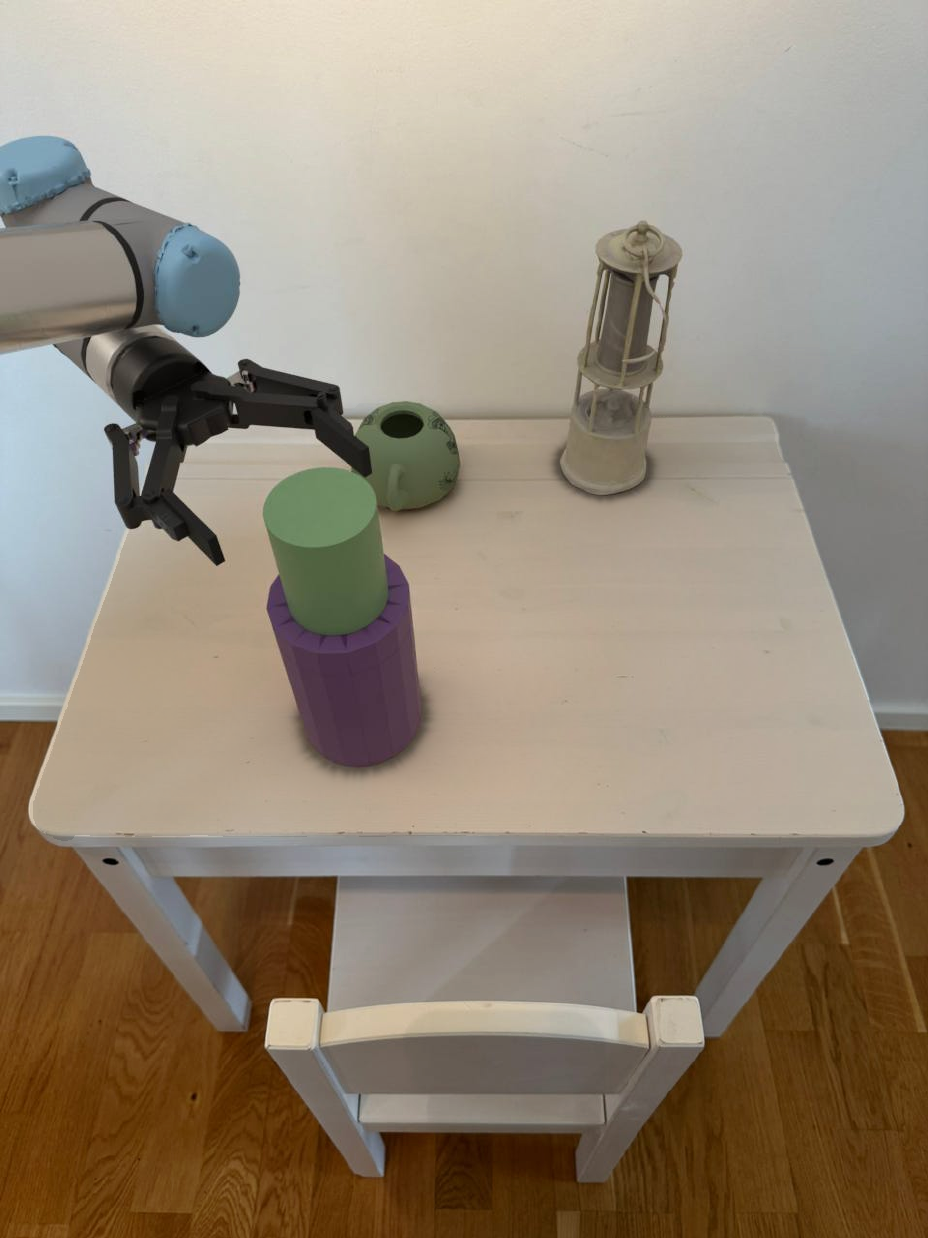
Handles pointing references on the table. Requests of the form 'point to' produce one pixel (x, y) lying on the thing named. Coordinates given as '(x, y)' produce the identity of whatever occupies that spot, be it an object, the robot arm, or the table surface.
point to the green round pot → (409, 455)
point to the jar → (354, 678)
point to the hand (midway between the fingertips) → (295, 505)
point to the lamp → (619, 362)
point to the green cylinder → (328, 549)
